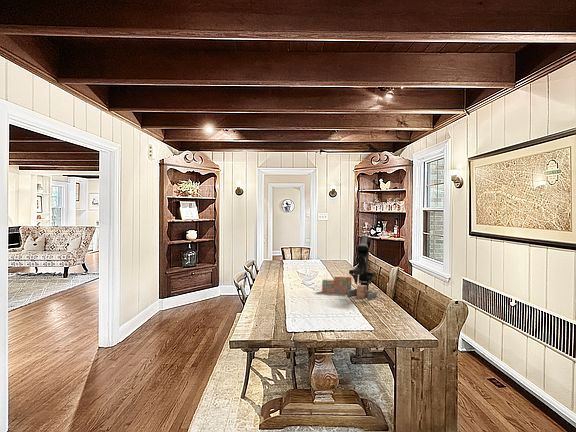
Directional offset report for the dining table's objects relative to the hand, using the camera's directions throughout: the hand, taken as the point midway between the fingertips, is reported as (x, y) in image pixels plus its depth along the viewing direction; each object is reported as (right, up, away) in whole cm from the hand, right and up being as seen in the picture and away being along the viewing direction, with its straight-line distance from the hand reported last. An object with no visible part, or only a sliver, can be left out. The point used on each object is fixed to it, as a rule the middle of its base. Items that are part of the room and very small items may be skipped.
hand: (361, 285), depth 321 cm
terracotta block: (0, -8, 0) cm, 8 cm away
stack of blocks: (-16, -8, +17) cm, 25 cm away
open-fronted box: (0, -8, 0) cm, 8 cm away
